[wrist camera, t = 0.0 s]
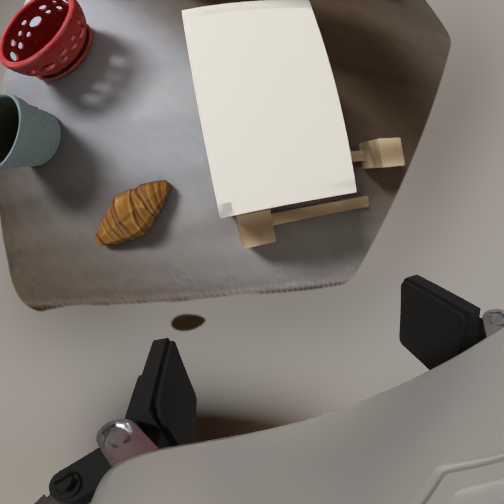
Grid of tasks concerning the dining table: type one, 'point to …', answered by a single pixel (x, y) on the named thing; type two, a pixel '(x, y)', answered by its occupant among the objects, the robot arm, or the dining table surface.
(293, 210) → the wooden mallet
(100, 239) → the croissant
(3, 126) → the blue grey tapered pot
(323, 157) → the cubby
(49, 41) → the plant pot
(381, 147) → the crook
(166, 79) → the dining table surface
